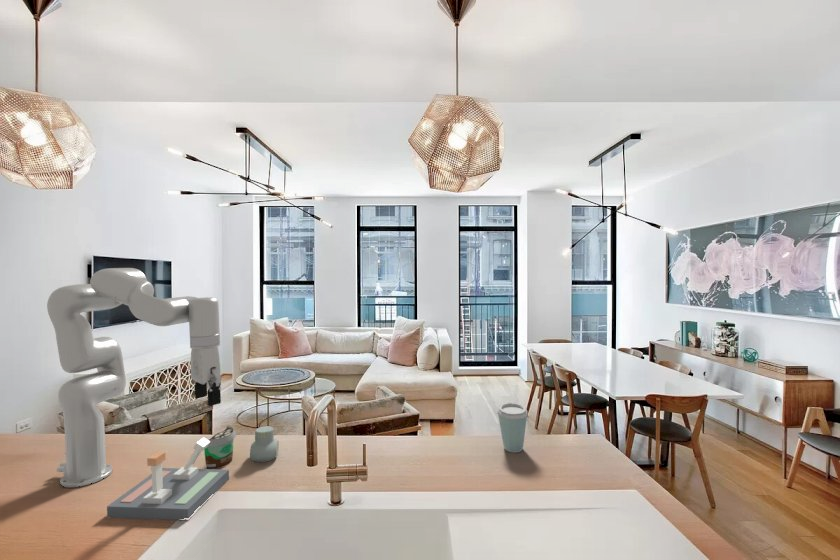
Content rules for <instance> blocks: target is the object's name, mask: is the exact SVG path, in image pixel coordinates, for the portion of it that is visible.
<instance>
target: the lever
mask: <svg viewBox="0 0 840 560" xmlns="http://www.w3.org/2000/svg"><path fill="white" fill-rule="evenodd" d="M208 440H209V439H207V438H206V437H202V438H201V439H199V440H197V442H196V443H195V444H194V446H193V449H194V451H193V453H192V454H191V456H190V458H189V459H188V461H187V462H186V464H185V465H184V466H183V467H184V470H186V471H188V470H189V469H190V468H191V467H194V465H195V462H196V461H197V460H198V458H199V456H200V454H201V453H202V452H204V449H205V448H207V446H208V445H209V443H210V441H208Z"/></svg>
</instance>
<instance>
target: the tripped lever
mask: <svg viewBox="0 0 840 560" xmlns="http://www.w3.org/2000/svg"><path fill="white" fill-rule="evenodd" d="M166 459H167V458H166V452H165V451H157V452H155V453H153V454H151V455H150V456H149V457H147V459H146V460H147V461H146V462H147V467H150V468H151V474H152V492H158V491H159V490H160V489H162V488H163V477H162V468H163V462H164V461H165V460H166Z"/></svg>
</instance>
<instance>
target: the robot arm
mask: <svg viewBox="0 0 840 560" xmlns="http://www.w3.org/2000/svg"><path fill="white" fill-rule="evenodd" d="M154 294H155V288H154V285H153V284H152V283H151V282H150V281H148V279H147V276H146V275H145V274H144V272H142V271H141V270H140V269H137V268H134V267H113V268H112V267H111V268H108V267H107V268H103V269H100V270H98V271H95V272H94V273H93V274H92V276H91V278H90V280H89V283H83V284H71V285H65V286H61V287H59V288H57V289H55V290H53V291H52V293H51V294H50V295H49V296H48V299H47V302H46V308H47V313H48V316H49V319H50V322H51V324H52V326H53V328H54V331H55V332H54V333H55V340H56V346H57V352H58V358H59V362H60V366H61V368H62V370H63V371H64V372H66V373H68V374H76V373H77V374H78V373H82V372H87V371H91V370H94V369H97V372H93V373H90V374H85V375H81V376H78V377H75V378H72V379H70V380H67V381H65V383H63V384H62V385H61V386H60V388H59V390H58V395H57V396H58V402H59V404H60V408H61V412H62V418H63V425H64V441H65V444H64V445H65V461H63V462H61V463H60V464H59V466H58V467H57V468H56V470H55V471H56V472H57V473H63V476H62V477H61V478H60V479H59V483H60V484H61V485H62V486H61V485H60V484H59V485H60V486H61V487H63V486H64V488H79V486H80V487H84V486H88V485H92V484H94V483H97V482H99V481H102V480H104V479H105V478H107V477H108V476H109V475H111V474H112V472H113V465H111V464H109V463H107V460H106V459H107V458H106V457H107V456H106V455H107V454H106V433H105V432H106V431H105V418H104V415H103V413H102V412H101V411H100V410H99V408H98V407H97V405H98V404H100V403H103V402H106V401H108V400H111V399H114V398H116V397H118V396H120V395H122V393H124V391H125V389H126V386H127V385H126V384H127V381H126V380H127V378H126V371H125V365H124V360H123V354H122V353H123V352H122V348H121V347H120V345H119V343H118V342H117V340H116V339H114V338H112V337H110V336H101V337H94V336H93V330H92V325H91V324H90V322H89V320H88V319H87V318H86V317H85V316H83V315H82V314H81V313H86V312H87V313H88V312H96V311H104V310H106V311H107V310H111V309H114V308H118V307H120V306H121V305H125V306H126V307H127V306H128V308H129V311H130V312H131V314H132V315H133V316H134V317H135V318H136V319H138V320H140V321H142V322H146V323H148V324H150V325H154V326H155V327H157V326H158V327H169V326H174V325H179V324H186V323H188V327H189V330H188V331H189V348H190V349H191V351H190V379H191V380H192V381H193V384H194V398H195V399H201V398H205V397H207V406H209V407H211V406H216V405H219V404H222V400H221V399H222V398H221V397H222V396H221V389H222V386H221V385H222V381H221V380H222V377H221V361H220V351H219V346H221V340H220V339H221V336H220V334H221V333H220V313H219V312H220V311H219V310H220V309H219V301H218V299H217V298H215V297H211V296H210V297H206V296H205V297H195V296H179V297H176V296H175V297H167V298H159V297H155V296H154ZM103 478H104V479H103ZM91 483H92V484H91Z"/></svg>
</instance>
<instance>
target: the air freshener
mask: <svg viewBox="0 0 840 560" xmlns="http://www.w3.org/2000/svg"><path fill="white" fill-rule="evenodd" d="M274 434H275V433H274V427H273V426H269V425H265V426H260V427H258V428H256V429H255V430H254V441H253V442H252V443H251V444H250V449H249V459H250V460H252V461H253V462H254V461H255V462H257V463H264V462H269V461H272V460H273V459H275V458H276V457H277V456H278V455H279V445H280V444H279V443H280V442H279V439H276V438H275V435H274Z"/></svg>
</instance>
